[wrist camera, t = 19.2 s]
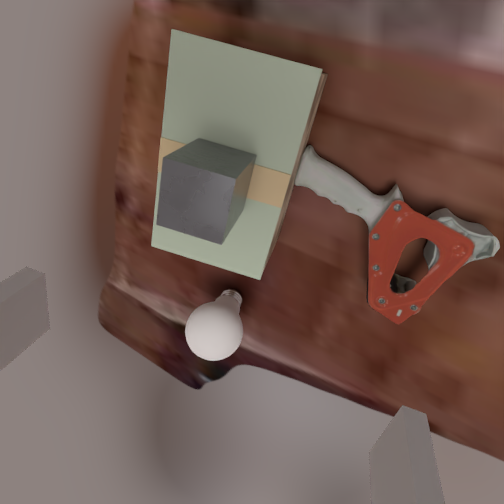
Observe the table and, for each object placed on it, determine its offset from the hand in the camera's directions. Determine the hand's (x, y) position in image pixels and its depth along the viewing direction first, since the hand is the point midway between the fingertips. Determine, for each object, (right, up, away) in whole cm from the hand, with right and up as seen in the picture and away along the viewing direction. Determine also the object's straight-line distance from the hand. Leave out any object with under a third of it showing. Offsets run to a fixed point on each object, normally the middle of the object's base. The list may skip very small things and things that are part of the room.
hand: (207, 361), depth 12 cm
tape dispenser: (+17, +7, +26) cm, 31 cm away
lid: (-1, +11, +18) cm, 21 cm away
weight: (-1, +10, +17) cm, 20 cm away
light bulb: (-1, -2, +35) cm, 35 cm away
